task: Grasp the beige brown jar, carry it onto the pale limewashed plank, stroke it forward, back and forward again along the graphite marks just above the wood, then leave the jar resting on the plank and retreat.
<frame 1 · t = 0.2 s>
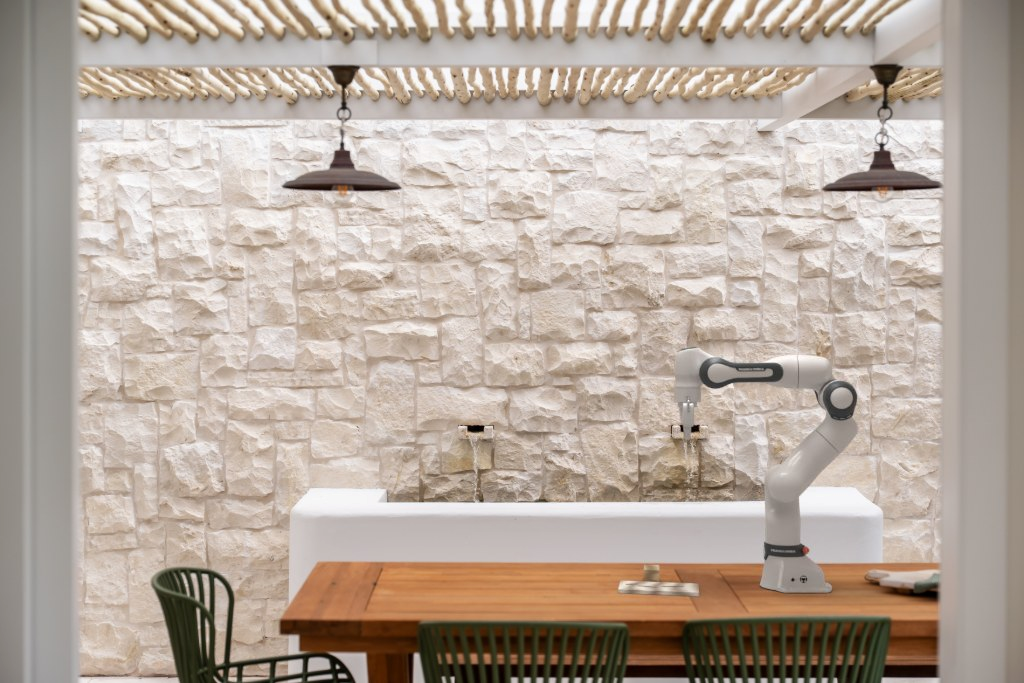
hand: (686, 438, 364), 47 cm above the table, fingers open, 8 cm apart
beige brown jar: (651, 582, 364), on the table
plank: (658, 590, 352), on the table
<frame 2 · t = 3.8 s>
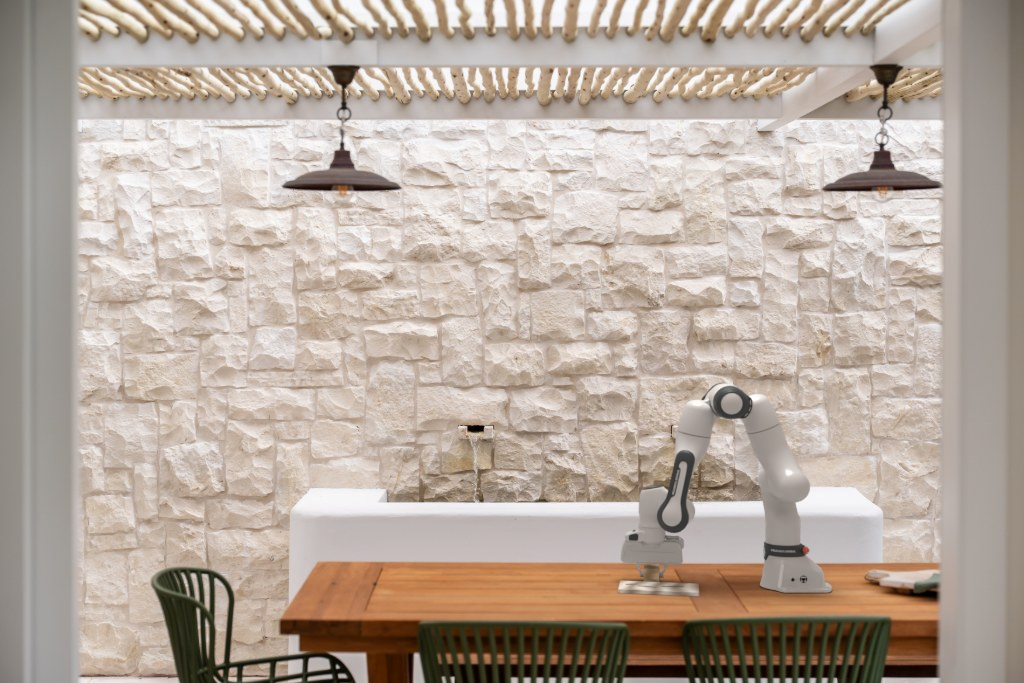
hand: (651, 577, 364), 2 cm above the table, fingers closed on beige brown jar, 5 cm apart
beige brown jar: (651, 582, 363), on the table, touching gripper
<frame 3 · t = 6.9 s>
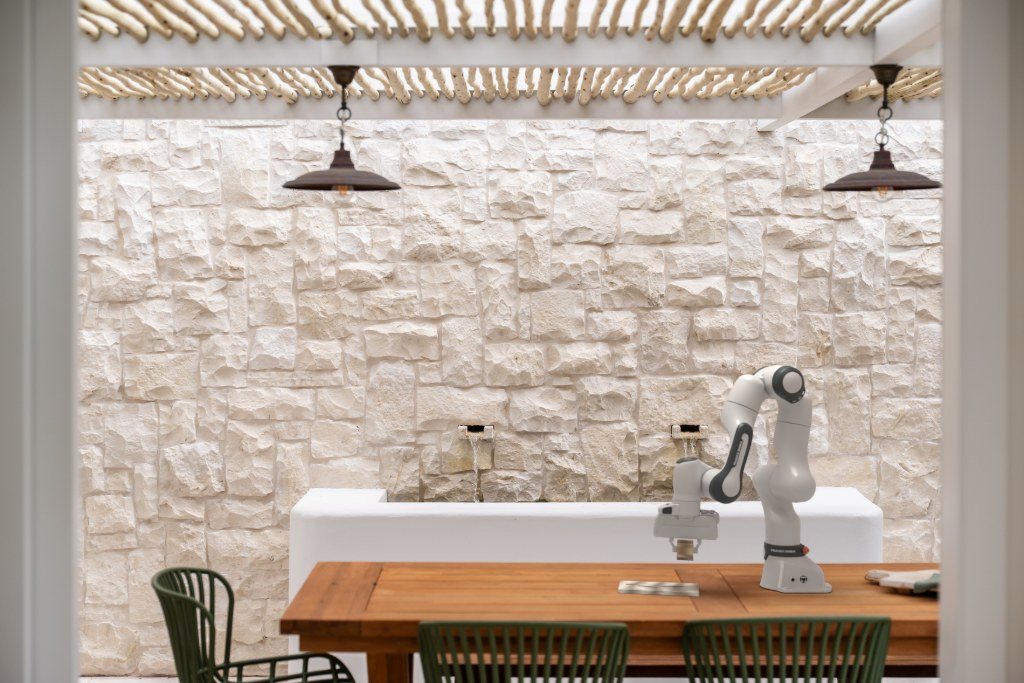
hand: (684, 552, 350), 12 cm above the table, fingers closed on beige brown jar, 5 cm apart
beige brown jar: (684, 557, 350), point 11 cm above the table, touching gripper
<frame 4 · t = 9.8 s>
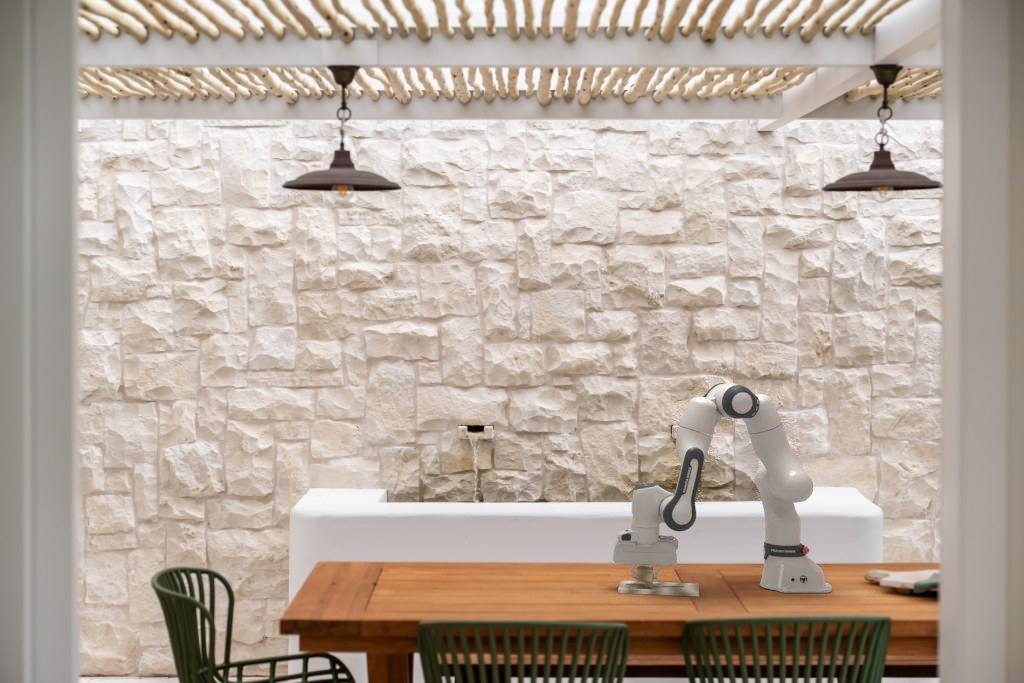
hand: (644, 578, 352), 4 cm above the table, fingers closed on beige brown jar, 5 cm apart
beige brown jar: (644, 583, 352), point 2 cm above the table, touching gripper
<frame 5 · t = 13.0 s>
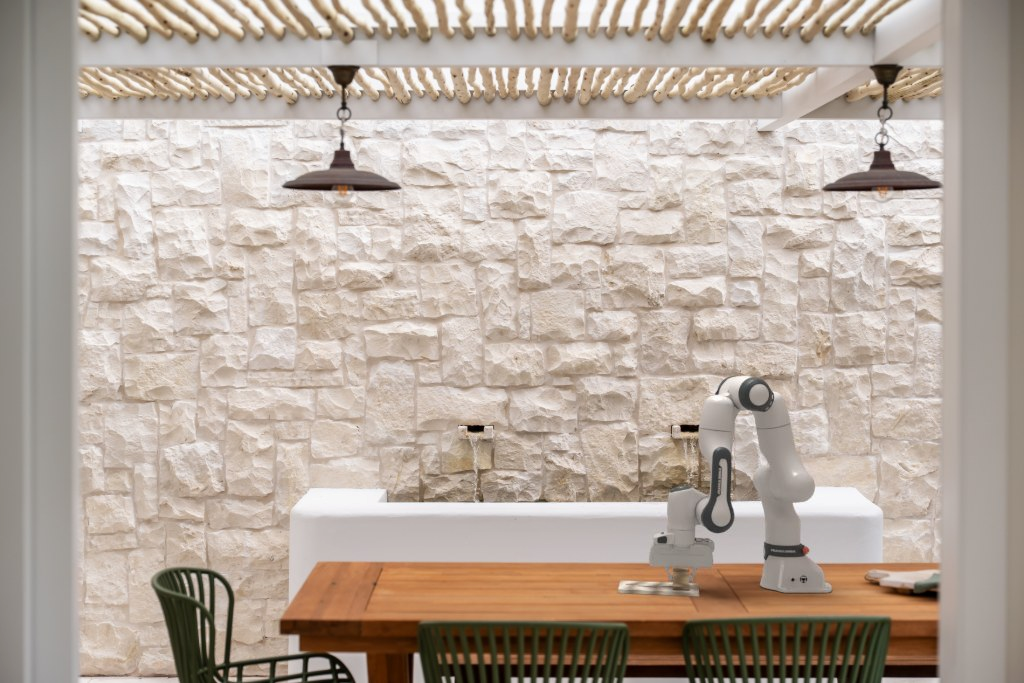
hand: (680, 581, 351), 3 cm above the table, fingers closed on beige brown jar, 5 cm apart
beige brown jar: (680, 586, 351), point 1 cm above the table, touching gripper
when the fingers open (3 cm above the table, at t = 16.0 s): beige brown jar stays where it is, resting on plank.
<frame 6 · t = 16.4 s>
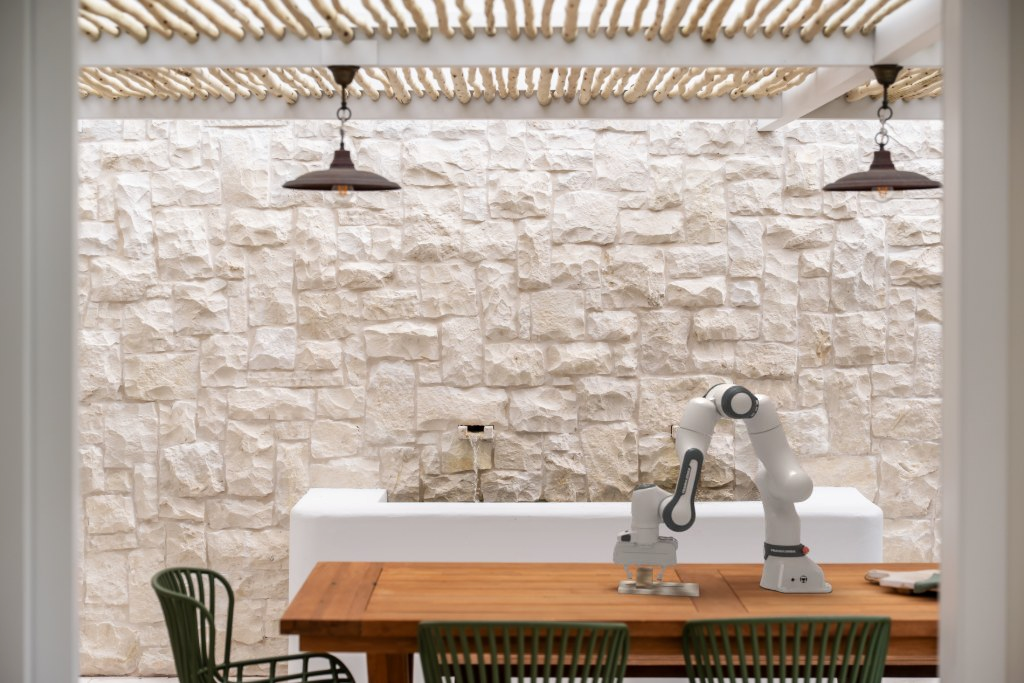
hand: (644, 579, 352), 3 cm above the table, fingers open, 8 cm apart
beige brown jar: (644, 585, 352), point 1 cm above the table, touching plank
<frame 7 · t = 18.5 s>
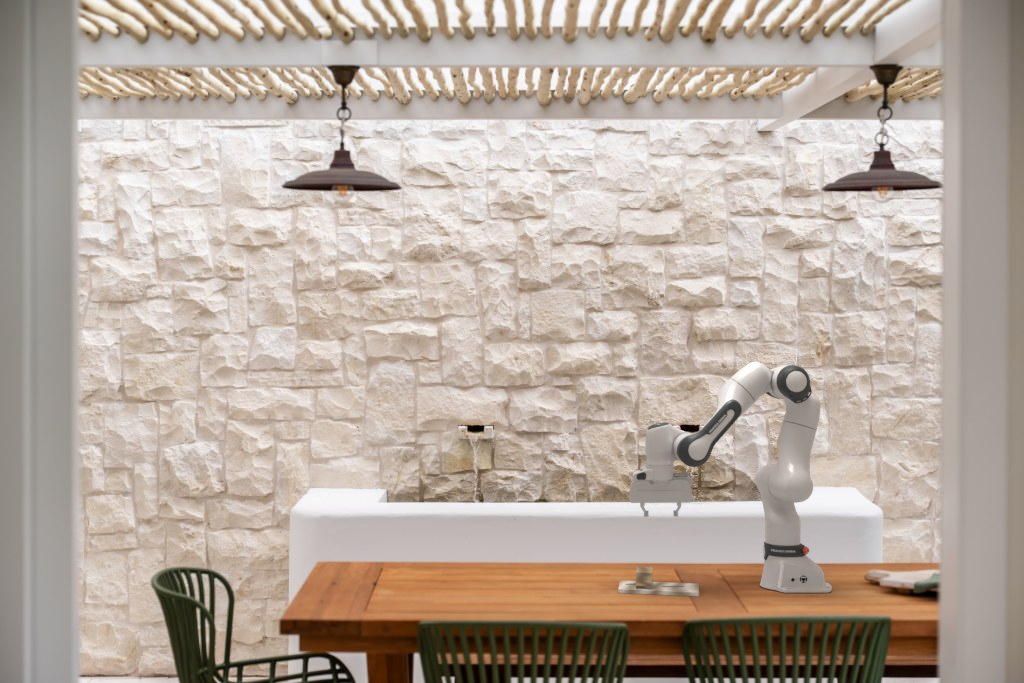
hand: (661, 516, 357), 23 cm above the table, fingers open, 8 cm apart
nothing on the table moved.
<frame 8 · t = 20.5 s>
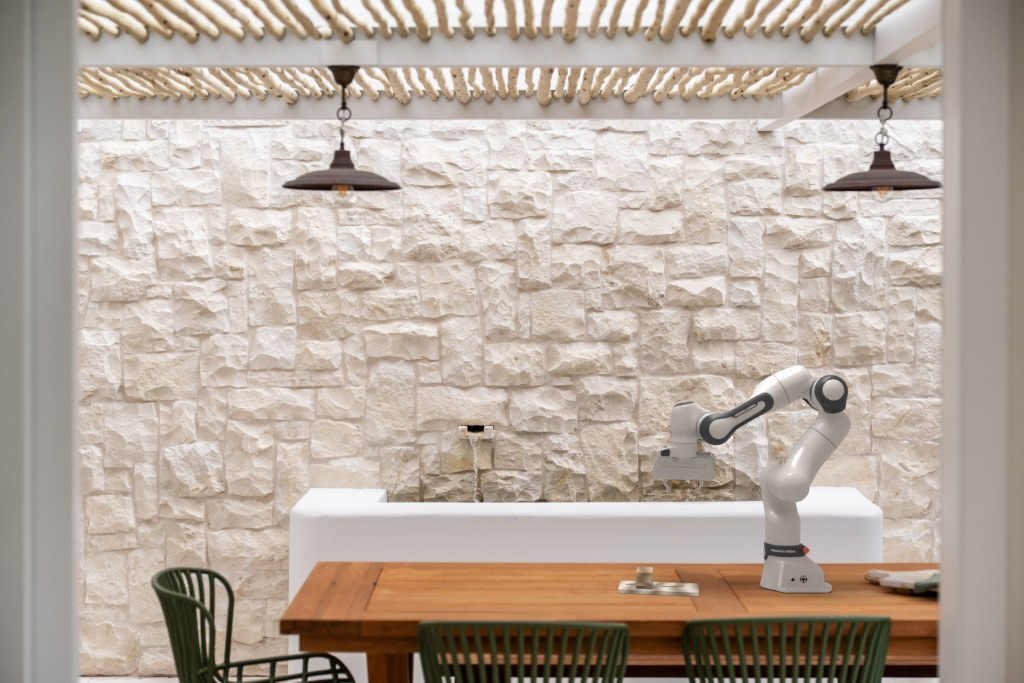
hand: (683, 493, 364), 29 cm above the table, fingers open, 8 cm apart
nothing on the table moved.
at the end: beige brown jar inside the target area on the plank (4.5 cm from its centre), point 1.3 cm above the plank's base; beige brown jar moved 11.9 cm from its start; the gripper is holding nothing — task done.
